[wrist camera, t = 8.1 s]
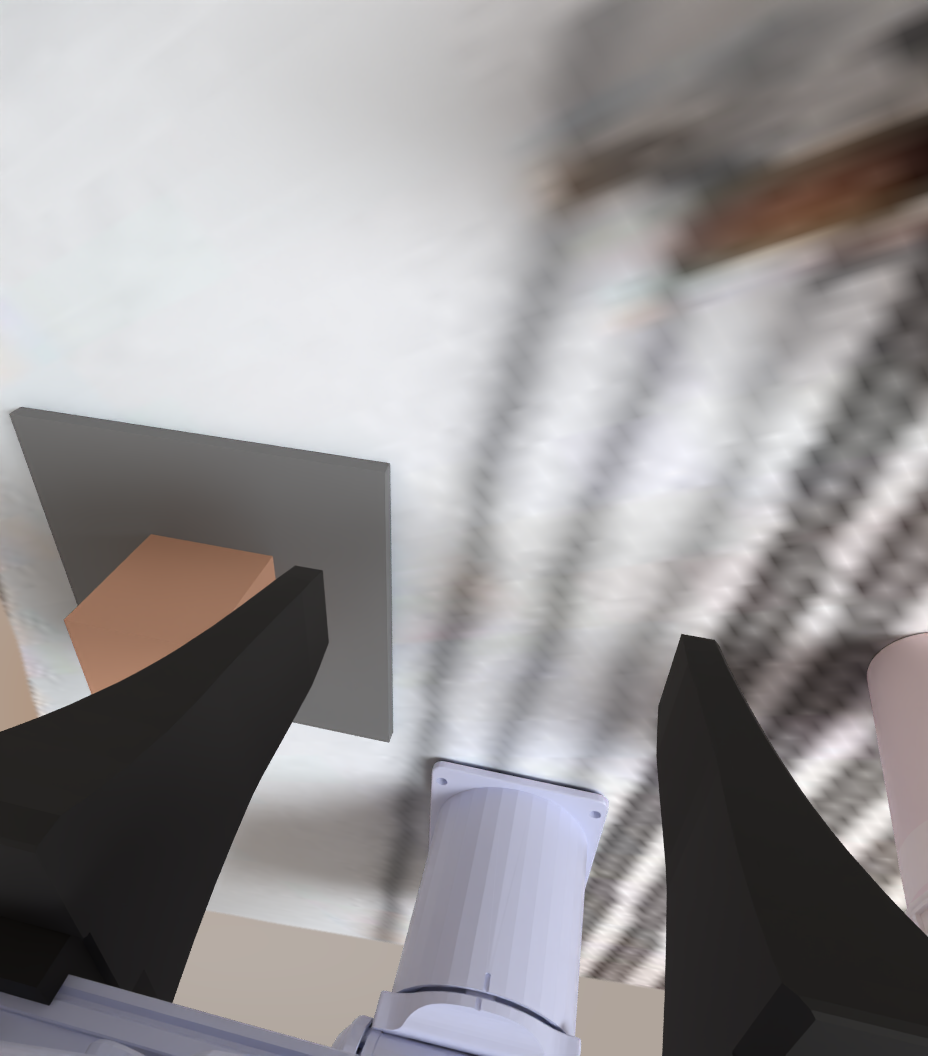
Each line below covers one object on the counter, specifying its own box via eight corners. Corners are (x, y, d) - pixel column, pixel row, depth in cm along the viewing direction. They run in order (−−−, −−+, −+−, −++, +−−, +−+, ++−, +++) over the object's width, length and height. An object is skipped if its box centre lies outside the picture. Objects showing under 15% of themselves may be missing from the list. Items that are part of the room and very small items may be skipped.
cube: (284, 651, 29) (227, 748, 25) (174, 629, 30) (101, 719, 25) (272, 556, 26) (205, 648, 22) (151, 534, 27) (63, 619, 23)
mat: (392, 731, 31) (389, 742, 31) (113, 673, 33) (105, 682, 33) (389, 463, 23) (384, 472, 23) (21, 407, 25) (9, 413, 25)
